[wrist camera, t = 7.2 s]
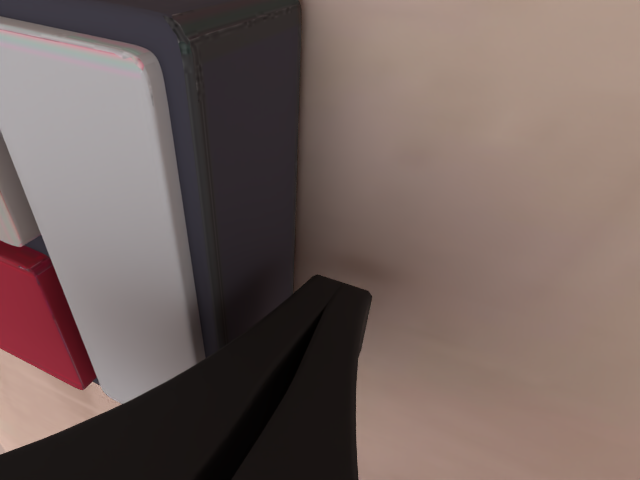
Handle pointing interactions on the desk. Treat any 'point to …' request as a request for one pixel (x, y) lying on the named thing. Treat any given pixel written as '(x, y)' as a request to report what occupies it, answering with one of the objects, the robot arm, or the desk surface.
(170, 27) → the calculator
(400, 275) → the desk surface
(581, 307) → the desk surface
